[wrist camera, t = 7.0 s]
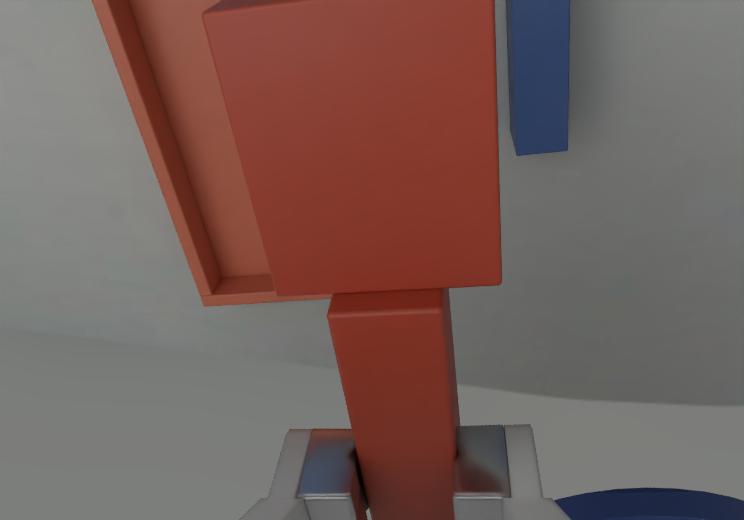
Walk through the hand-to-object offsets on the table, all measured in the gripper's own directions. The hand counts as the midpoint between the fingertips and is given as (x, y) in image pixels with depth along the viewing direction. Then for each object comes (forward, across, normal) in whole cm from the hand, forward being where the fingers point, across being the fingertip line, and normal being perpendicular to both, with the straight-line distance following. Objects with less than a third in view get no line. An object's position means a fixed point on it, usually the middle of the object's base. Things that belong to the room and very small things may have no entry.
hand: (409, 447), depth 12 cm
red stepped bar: (+2, 0, -2) cm, 3 cm away
